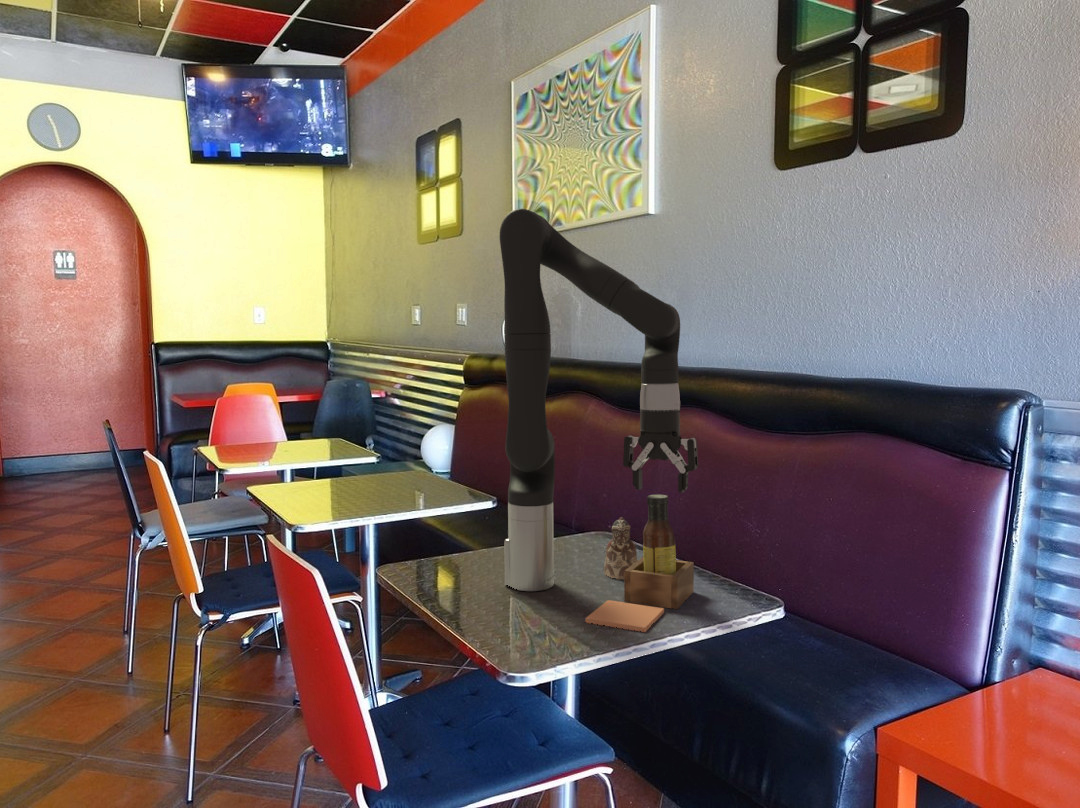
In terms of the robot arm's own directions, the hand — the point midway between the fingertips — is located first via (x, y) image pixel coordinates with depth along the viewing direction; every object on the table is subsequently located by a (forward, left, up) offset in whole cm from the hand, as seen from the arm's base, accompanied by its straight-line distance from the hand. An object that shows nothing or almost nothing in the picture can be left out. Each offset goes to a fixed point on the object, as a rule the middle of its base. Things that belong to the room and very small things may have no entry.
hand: (660, 490), depth 151 cm
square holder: (0, 0, -21) cm, 21 cm away
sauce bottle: (0, 0, -21) cm, 21 cm away
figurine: (-12, +11, -21) cm, 27 cm away
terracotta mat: (-2, -14, -21) cm, 25 cm away
